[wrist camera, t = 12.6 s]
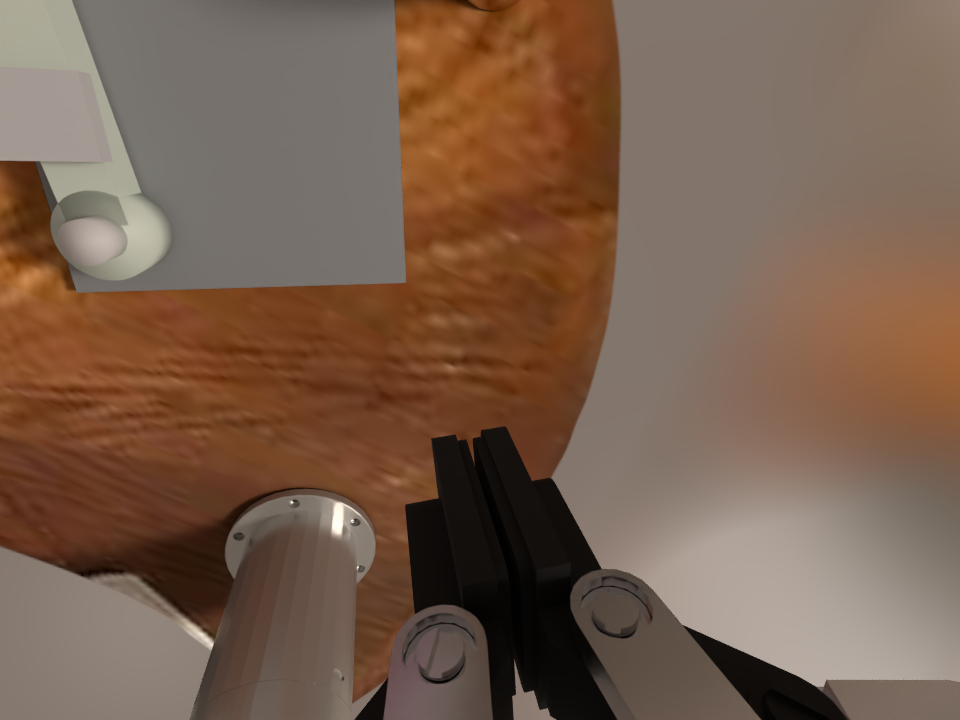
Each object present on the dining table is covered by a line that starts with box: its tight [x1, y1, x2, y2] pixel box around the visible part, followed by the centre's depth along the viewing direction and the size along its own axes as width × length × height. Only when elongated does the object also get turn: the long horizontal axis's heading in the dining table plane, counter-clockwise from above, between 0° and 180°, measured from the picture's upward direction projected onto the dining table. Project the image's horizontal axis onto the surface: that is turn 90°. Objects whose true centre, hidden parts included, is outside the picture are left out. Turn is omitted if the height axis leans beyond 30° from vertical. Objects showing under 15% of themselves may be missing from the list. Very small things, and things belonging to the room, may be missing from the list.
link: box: [0, 0, 173, 281], centre depth 25 cm, size 18×5×5 cm, turn 5°
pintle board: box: [0, 0, 406, 293], centre depth 27 cm, size 20×22×6 cm
